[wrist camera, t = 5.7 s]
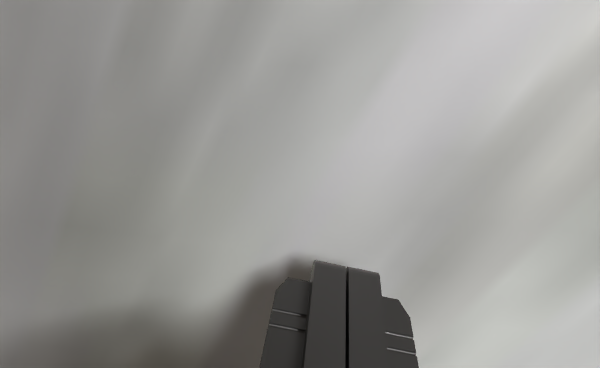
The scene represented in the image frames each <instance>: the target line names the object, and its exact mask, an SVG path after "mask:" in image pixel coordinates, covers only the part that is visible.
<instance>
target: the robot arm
mask: <svg viewBox="0 0 600 368" xmlns="http://www.w3.org/2000/svg"><path fill="white" fill-rule="evenodd" d="M260 368H419V367H418V361H417V356H416V349H415V344H414V340H413V332H412V327H411V321H410V317H409V315H408V314H407V312H406V311H405V309H404V308H403V306H402V305H401V303H400V302H399V300H397V299H392V298H387V297H382V294H381V284H380V276H379V273H376V272H371V271H366V270H361V269H356V268H351V267H347V268H346V267H345V266H341V265H336V264H331V263H326V262H321V261H316V260H315V261H314V263H313V267H312V271H311V276H310V280H309V282H308V281H303V280H298V279H293V278H289V277H288V278H287V279H286V281H285V282H284V283H283V284H282V285H281V286H280V287H279V288H278V289H277V290H276V293H275V298H274V303H273V307H272V312H271V317H270V321H269V326H268V331H267V335H266V340H265V344H264V349H263V354H262V358H261V363H260Z"/></svg>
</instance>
